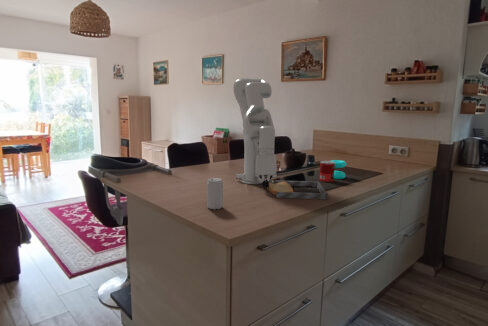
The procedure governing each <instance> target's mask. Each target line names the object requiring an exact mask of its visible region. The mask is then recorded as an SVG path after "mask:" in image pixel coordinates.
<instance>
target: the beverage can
mask: <svg viewBox="0 0 488 326" xmlns="http://www.w3.org/2000/svg"><path fill="white" fill-rule="evenodd" d="M223 193H224V182H223V179H222V178H219V177H212V178H208V179H207V182H206V200H207V201H206V207H207V208H208V210H212V209H213V211H215V210H216V209H217V210H221V209H222V208H223V206H224V205H223V204H224V203H223V200H224V199H223Z"/></svg>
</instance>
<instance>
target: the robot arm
mask: <svg viewBox="0 0 488 326" xmlns="http://www.w3.org/2000/svg"><path fill="white" fill-rule="evenodd" d="M272 91H273V90H272V86H271V84H270V83H269V82H268V81H266V80H264V79H262V78H261V79H260V78H238V79H236V80H235V81H234V83H233V94H234V97H235V100H236V101H237V104H238V106H239V109H240V114H241V118H242V127H243V129H242V137H243V145H244V148H243V149H244V154H243V155H244V157H243V158H244V160H243V163H244V165H243V173H240V174H239V173H237V174H236V175H235V178H237V179H241V180H240V182H241V183H242V184H247V185H261V184H262V187H263V189H264V190H267V187H269V183H270V180H271V179H272V178H276V177H278V176H277V174H278V173H277V155H276V154H275V141H276V140H275V139H276V130H275V126H274V122H273V119H272V118H273V117H272V115H271V112H270V110H268V109H266V108H265V104H264V99H270V97H271V96H272V93H273V92H272ZM265 176H267V177H266V178H265Z"/></svg>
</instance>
